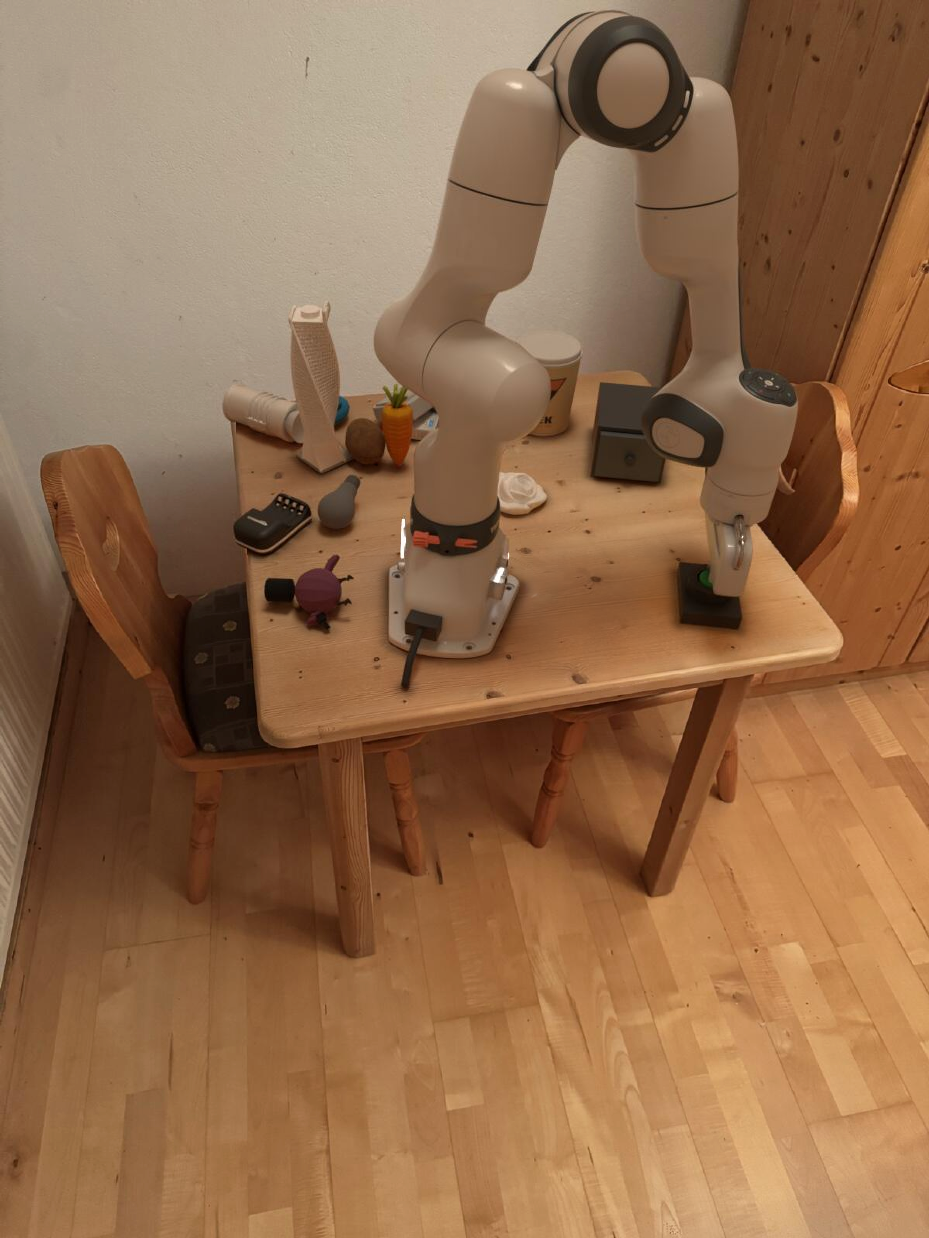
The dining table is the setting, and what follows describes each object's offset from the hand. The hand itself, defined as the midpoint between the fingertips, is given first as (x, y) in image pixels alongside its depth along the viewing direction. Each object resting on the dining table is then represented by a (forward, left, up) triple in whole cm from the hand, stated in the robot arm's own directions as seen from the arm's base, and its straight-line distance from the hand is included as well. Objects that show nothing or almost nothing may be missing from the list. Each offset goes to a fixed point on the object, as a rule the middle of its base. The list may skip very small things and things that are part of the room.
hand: (713, 577), depth 123 cm
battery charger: (+10, +63, -2) cm, 63 cm away
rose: (+20, +29, -4) cm, 35 cm away
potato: (+27, +56, +2) cm, 62 cm away
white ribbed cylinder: (+30, +66, -1) cm, 73 cm away
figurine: (-11, +61, -2) cm, 62 cm away
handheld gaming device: (+35, +53, +1) cm, 63 cm away
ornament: (+36, +61, -2) cm, 71 cm away
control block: (0, 0, -4) cm, 4 cm away
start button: (0, 0, -2) cm, 2 cm away
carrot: (+26, +50, -4) cm, 56 cm away
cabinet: (+36, +12, -4) cm, 38 cm away
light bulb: (+15, +54, 0) cm, 56 cm away
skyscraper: (+25, +62, -4) cm, 67 cm away
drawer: (+33, +12, -3) cm, 36 cm away
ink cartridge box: (+40, +44, -3) cm, 60 cm away
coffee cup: (+44, +27, -4) cm, 52 cm away
